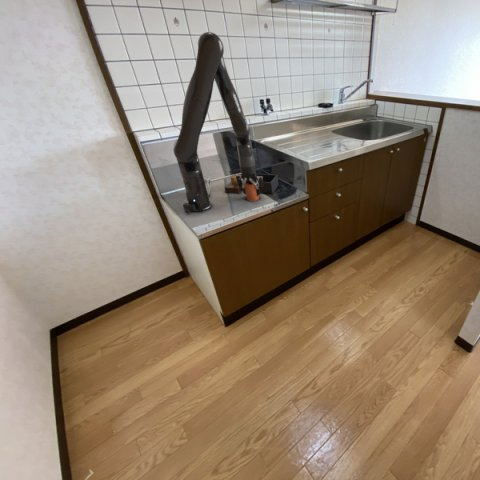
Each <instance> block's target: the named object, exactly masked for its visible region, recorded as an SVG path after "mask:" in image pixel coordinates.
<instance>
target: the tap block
mask: <svg viewBox="0 0 480 480" xmlns="http://www.w3.org/2000/svg"><path fill="white" fill-rule="evenodd" d="M241 180H242V184H243V182H244V180H243V179H241ZM224 192H225V193H229V194H240V193H241V192H243V188H242V187H239V186H238V185H232V183H231V181H230V182H228V183H227V185H225V186H224Z"/></svg>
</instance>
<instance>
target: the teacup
mask: <svg viewBox="0 0 480 480" xmlns="http://www.w3.org/2000/svg"><path fill="white" fill-rule="evenodd" d="M204 181H205V185H206V189H207V193H208V196H209V195H210V194H211V186H212V180H211V178H204Z"/></svg>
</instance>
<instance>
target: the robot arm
mask: <svg viewBox="0 0 480 480" xmlns="http://www.w3.org/2000/svg"><path fill="white" fill-rule="evenodd" d="M224 52H225V47H224V44H223V41H222V39H221V38H220V37H219V35H217V34H216V33H214V32H211V31H206V32H203V33H202V34H200V35H199V38H198V39H197V53H196V61H195V62H196V63H195V66H194V70H193V73H192V75H191V78H190V80H189V82H188V86H187V89H186V92H185V96H184V101H183V105H182V114H181V127H180V131H179V134H178V136H177V139H176V140H175V141H174V142H173V146H172V147H173V148H172V149H173V155H174V157H175V158H176V162H177V166H178V169H179V173H180V176H181V179H182V183H183V186H184V189H185V196H186V199H187V200H186V201H187V202H184V203H183V204H182V207H183V209H184V212H185V213H186V214H188V213H189V211H190V212H191V211H192V212H201V213H202V212H205V211H207V210H209V209H210V208H211V207H212V204H211V201H210V196H209V195H208V193H207V189H206V185H205V181H204V179H205V177H204V173H203V170H202V166H201V162H200V159H199V154H198V145H199V142H200V141H199V140H200V135H201V132H202V130H203V127H204V124H205V121H206V118H207V116H208V111H209V109H210V105H211V100H212V95H213V90H214V82H215V84H216V88H217V90H218V93H219V96H220V98H221V102H222V104H223V107H224V109H225V111H226V114H227V115H228V118H229V120H230V124H231V127H232V129H233V133H234V135H235V140H236V147H237V148H236V149H237V150H236V151H237V154H238V163H239V169H240V173H241V174H239V173H238V174H236V175H237V176H236V179H237V182H238V186H239V187H242V188H243V190H242V193H243V194H244V195H245V196H246V192H245V187H244V184H249V183H250V184H254V185H255V187H256V191H257V196H260V195H261V194H262V193H261V192H260V188H262V187H263V176H261V177H260V176H257V174H258V173H257V167H256V161H255V156H254V150H253V145H252V140H251V135H250V134H251V129H250V126H249V124H248V121H247V118H246V115H245V114H244V110H243V106H242V104H241V101H240V98H239V96H238V93H237V90H236V88H235V86H234V84H233V82H232V79H231V77H230V75H229V72H228V69H227V66H226V62H225V58H224ZM256 173H257V174H256ZM256 179H258V181H259V184H258V181H257V180H256ZM242 180H243V181H244V182H243V184H242Z"/></svg>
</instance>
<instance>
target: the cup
mask: <svg viewBox="0 0 480 480" xmlns="http://www.w3.org/2000/svg"><path fill="white" fill-rule="evenodd" d="M244 187H245V192H246V195H245V198H246V201H249V202H255V201H257V200H259V199H260V197H259V196H260V195H259V196H257V191H256V187H255V185H254V184H250V183H249V184H244Z"/></svg>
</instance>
